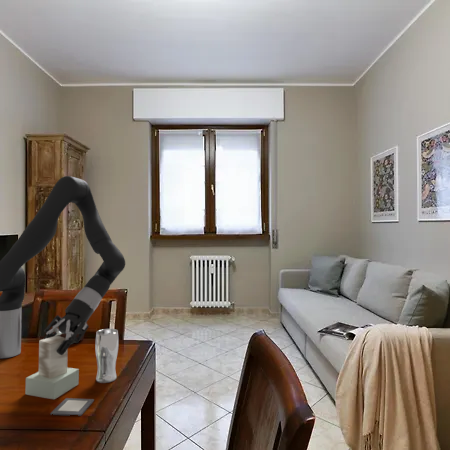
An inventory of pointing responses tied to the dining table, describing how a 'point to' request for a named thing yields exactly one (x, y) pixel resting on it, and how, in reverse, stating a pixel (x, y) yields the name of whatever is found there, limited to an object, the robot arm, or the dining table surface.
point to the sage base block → (51, 384)
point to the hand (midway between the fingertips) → (50, 350)
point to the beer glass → (106, 354)
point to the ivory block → (52, 357)
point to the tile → (72, 407)
